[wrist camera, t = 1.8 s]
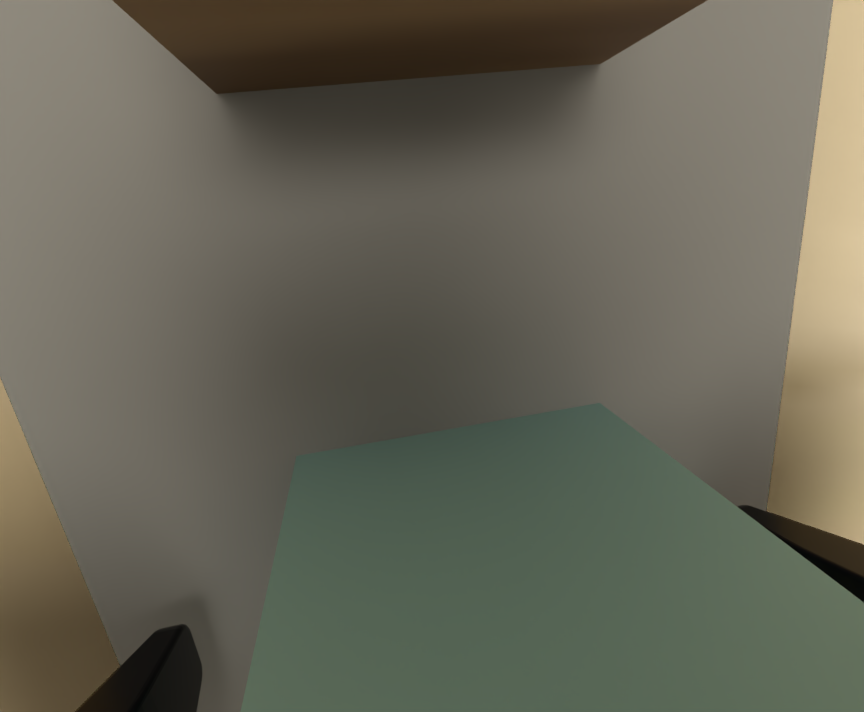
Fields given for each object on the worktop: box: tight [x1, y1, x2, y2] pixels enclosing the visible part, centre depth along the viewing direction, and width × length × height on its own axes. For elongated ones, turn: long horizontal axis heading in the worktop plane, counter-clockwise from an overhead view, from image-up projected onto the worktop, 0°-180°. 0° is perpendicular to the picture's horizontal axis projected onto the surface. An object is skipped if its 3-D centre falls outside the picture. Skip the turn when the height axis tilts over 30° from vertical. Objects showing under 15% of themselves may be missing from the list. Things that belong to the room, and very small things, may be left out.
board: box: [0, 0, 833, 712], centre depth 7 cm, size 16×12×1 cm
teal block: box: [240, 403, 864, 712], centre depth 6 cm, size 5×5×5 cm
